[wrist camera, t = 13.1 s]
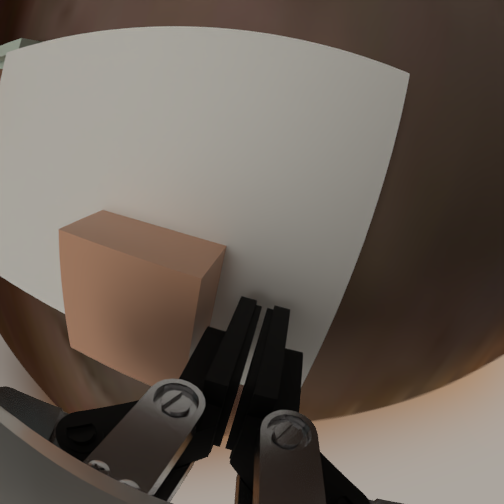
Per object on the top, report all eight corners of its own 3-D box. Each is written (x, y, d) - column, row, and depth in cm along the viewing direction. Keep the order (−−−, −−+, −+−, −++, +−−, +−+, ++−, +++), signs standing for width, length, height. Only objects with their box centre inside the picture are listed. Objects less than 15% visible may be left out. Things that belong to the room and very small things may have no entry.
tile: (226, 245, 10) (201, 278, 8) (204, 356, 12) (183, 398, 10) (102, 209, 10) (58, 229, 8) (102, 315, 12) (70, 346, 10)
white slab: (386, 88, 10) (409, 73, 7) (299, 355, 15) (295, 398, 12) (43, 56, 11) (6, 52, 8) (30, 257, 16) (0, 275, 13)
